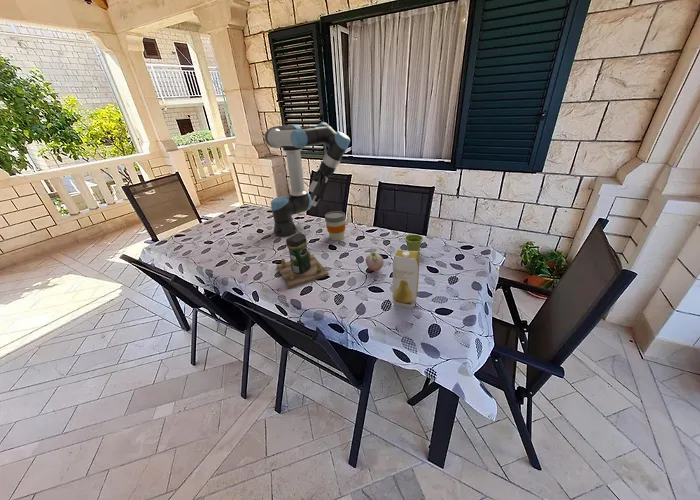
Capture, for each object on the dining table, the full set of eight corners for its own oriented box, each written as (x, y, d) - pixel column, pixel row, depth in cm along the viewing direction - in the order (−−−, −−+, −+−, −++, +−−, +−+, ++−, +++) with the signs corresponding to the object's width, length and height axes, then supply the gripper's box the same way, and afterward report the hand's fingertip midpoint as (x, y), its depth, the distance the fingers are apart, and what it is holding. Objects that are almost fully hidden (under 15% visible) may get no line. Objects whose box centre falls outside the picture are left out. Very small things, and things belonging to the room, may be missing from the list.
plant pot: (401, 253, 146) (401, 238, 142) (410, 246, 152) (411, 232, 148) (416, 258, 141) (417, 243, 136) (425, 251, 146) (426, 237, 142)
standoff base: (276, 267, 141) (274, 257, 139) (312, 256, 149) (311, 247, 146) (289, 288, 124) (286, 277, 121) (328, 275, 132) (327, 264, 129)
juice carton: (391, 306, 109) (391, 254, 97) (395, 294, 115) (396, 244, 104) (414, 311, 105) (418, 257, 94) (417, 298, 112) (421, 247, 100)
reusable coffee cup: (351, 237, 168) (349, 214, 161) (334, 243, 162) (331, 220, 155) (339, 231, 177) (337, 209, 170) (323, 237, 171) (320, 214, 164)
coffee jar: (302, 262, 141) (296, 230, 133) (313, 266, 137) (308, 233, 128) (288, 271, 134) (282, 237, 126) (300, 275, 130) (294, 241, 122)
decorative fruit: (386, 273, 130) (386, 255, 125) (370, 277, 128) (370, 259, 123) (379, 264, 138) (379, 247, 133) (364, 267, 136) (363, 250, 131)
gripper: (340, 179, 126) (320, 214, 137) (332, 155, 143) (315, 188, 155) (326, 173, 122) (307, 209, 134) (319, 149, 140) (303, 183, 151)
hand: (311, 198), depth 144 cm, fingers open, 13 cm apart
